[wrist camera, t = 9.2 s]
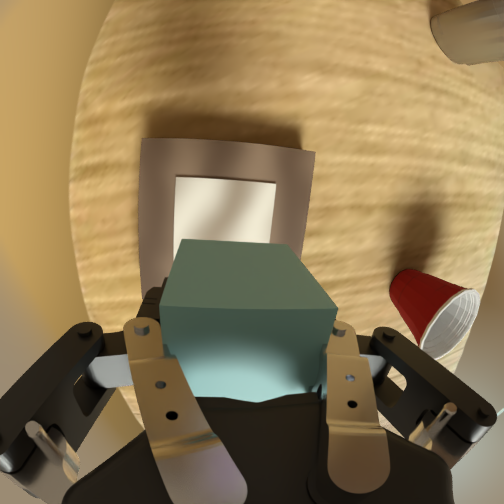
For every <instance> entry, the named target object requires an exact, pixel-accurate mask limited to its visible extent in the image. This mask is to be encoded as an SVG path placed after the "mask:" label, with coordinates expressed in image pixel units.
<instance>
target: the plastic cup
mask: <svg viewBox="0 0 504 504" xmlns="http://www.w3.org/2000/svg"><path fill="white" fill-rule="evenodd" d="M389 291H390V298H391V300H392V302H393V304H394V305H395V307H396V308H397V310H398V311H399V313H400V315H401V317H402V318H403V320H404V321H405V323H406V324H407V326H408V327H409V329H410V331H411V332H412V334H413V335H414V337H415V339H416V342H417V344H418V347H419V348H420V349H422V350H423V351H424V352H425V353H427V354H428V355H429V356H431V357H432V358H433V359H434V360H436V359H439V358H441V357H442V356H444V355H445V354H447V353H448V352H450V351H451V350H452V349H453V348H454V347H455V346H456V345H457V344H458V343H459V342H460V341H461V340H462V339H463V337H464V336H465V335H466V333H467V332H468V331H469V329H470V328H471V326H472V324H473V322H474V320H475V318H476V316H477V312H478V309H479V305H480V297H479V293H478V292H477V291H476V290H475V289H472V288H469V289H467V288H464V287H462V286H461V287H460V286H458V285H456V284H452V283H449V282H447V281H444V280H442V279H439V278H437V277H434V276H432V275H429V274H425V273H422V272H420V271H417V270H413V269H406V270H404V271H401V272H400V273H399V274H398V275H397V276H396V277H395V278H394V280H393V282H392V283H391V287H390V290H389Z"/></svg>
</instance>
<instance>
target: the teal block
mask: <svg viewBox="0 0 504 504" xmlns="http://www.w3.org/2000/svg"><path fill="white" fill-rule="evenodd" d="M159 310H160V323H161V335H162V344H167V346H168V348H169V351H170V353H171V355H172V354H175V355H176V357H177V359H178V362H179V364H180V366H181V369H182V371H183V373H184V375H185V377H186V380H187V382H188V384H189V386H190V388H191V390H192V393H193V395H194V396H197V397H226V398H232V399H237V400H243V401H250V402H262V401H266V400H270V399H273V398H277V397H280V396H284V395H287V394H298V393H307V391H308V388H309V386H314V384H315V381H316V378H317V375H318V370H319V354H320V351H321V348H322V345H323V344H328V342H329V339H330V335H331V332H332V329H333V325H334V322H335V318H336V315H337V311H338V307H337V306H336V305H335V303H334V302H333V301H332V300H331V298H330V297H329V296H328V294H327V293H326V292H325V291H324V289H323V288H322V287H321V286H320V284H319V283H318V282H317V281H316V279H315V278H314V277H313V276H312V274H311V273H310V272H309V271H308V269H307V268H306V267H305V266H304V264H303V263H302V262H301V261H300V259H299V258H298V257H297V256H296V254H295V253H294V252H293V251H292V250H291V248H290V247H289V246H288V245H287V244H273V243H256V242H237V241H218V240H198V239H181V242H180V245H179V248H178V250H177V253H176V256H175V259H174V262H173V265H172V268H171V271H170V273H169V276H168V279H167V282H166V285H165V288H164V292H163V295H162V298H161V301H160V304H159Z"/></svg>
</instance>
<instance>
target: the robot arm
mask: <svg viewBox="0 0 504 504" xmlns="http://www.w3.org/2000/svg"><path fill="white" fill-rule="evenodd" d="M431 29H432V32H433V35H434V37H435V39H436V41H437V43H438V45H439V46H440V48H441V49H442V51H443V52H444V53H445V54H446V55H447V56H448V57H449V58H450V59H451V60H452V61H454V62H455V63H457V64H467V65H474V64H481V63H488V62H495V61H504V0H478V1H475V2H471V3H469V4H466V5H463V6H460V7H457V8H454V9H452V10H449V11H446V12H444V13H441V14H439V15H437V16H434V17H433V18H432V19H431ZM167 279H168V277H165V278H164V281H163V283H162V286H161V287H152V288H151V289H150V290H148V291H147V292H146V295H145V297H144V299H143V302H142V304H141V306H140V309H139V311H138V314H137V316H136V318H134V319H131V320H129V321H128V322H126V323H125V325H124V327H123V331H120V332H114V333H104V334H103V330H102V328H101V326H100V325H98V324H96V323H93V322H83V323H79V324H76V325H74V326H73V327H72V328H70V329H69V330H68V331H67V332H66V333H65V334H64V335H63V336H62V337H61V338H60V339H59V340H58V341H57V342H55V343H54V344H53V345H52V346H51V347H50V348H49V349H48V350H47V351H46V352H45V353H44V354H43V355H42V356H41V357H40V358H39V359H38V360H37V361H36V362H35V363H34V364H33V365H32V366H31V367H30V368H29V369H28V370H27V371H26V372H25V373H24V374H23V375H22V376H21V377H20V378H19V379H18V380H17V382H16V383H15V384H14V385H13V386H12V387H11V388H10V389H9V390H8V391H7V392H6V393H5V394H4V395H3V396H2V398H1V399H0V472H1V473H3V474H4V475H5V476H6V477H7V478H8V479H10V480H11V481H12V482H13V483H14V484H16V485H17V486H18V487H20V488H22V489H23V490H25V491H26V492H27V493H28V494H30V495H31V496H33V497H35V498H39V499H42V500H43V501H44V502H46V503H47V504H454V499H453V491H452V474H451V471H450V469H451V468H452V467H453V466H454V465H455V464H456V463H457V462H459V461H460V460H461V459H462V458H463V457H464V456H465V455H466V454H467V453H468V452H469V451H470V450H471V449H472V448H473V447H474V446H475V445H476V444H477V443H478V442H479V440H480V439H481V438H482V437H483V436H484V435H485V434H486V433H487V432H488V431H489V429H490V428H491V427H492V426H493V425H494V424H495V422H496V420H497V414H496V411H495V409H494V408H493V406H492V405H491V404H490V403H488V402H487V401H486V400H485V399H484V398H482V397H481V396H480V395H479V394H477V393H476V392H475V391H474V390H472V389H471V388H470V387H469V386H467V385H466V384H465V383H463V382H462V381H461V380H460V379H459V378H457V377H456V376H455V375H454V374H452V373H451V372H450V371H449V370H447V369H446V368H445V367H443V366H442V365H441V364H440V363H438V362H437V361H436V360H434V359H433V358H432V357H431V356H429V355H428V354H427V353H425V352H424V351H423V350H422V349H420V348H419V347H418V346H416V345H415V344H414V343H412V342H411V341H410V340H408V339H407V338H406V337H404V336H403V335H402V334H401V333H399V332H398V331H396V330H394V329H392V328H389V327H378V328H376V329H375V330H374V332H373V335H372V337H371V336H363V335H356V332H355V329H354V328H353V327H352V326H351V325H349V324H347V323H345V322H342V321H337V320H336V319H335V322H334V325H333V329H332V332H331V335H330V339H329V342H328V344H323V345H322V348H321V351H320V354H319V370H318V375H317V378H316V381H315V384H314V386H309V388H308V391H307V393H298V394H287V395H284V396H280V397H277V398H273V399H270V400H266V401H262V402H250V401H243V400H237V399H232V398H226V397H197V396H194V395H193V393H192V390H191V388H190V386H189V384H188V382H187V380H186V377H185V375H184V373H183V371H182V369H181V366H180V364H179V362H178V359H177V357H176V355H175V354H172V355H171V353H170V351H169V348H168V346H167V344H162V335H161V323H160V310H159V304H160V301H161V298H162V295H163V292H164V288H165V285H166V282H167ZM392 366H393V367H394V368H395V369H396V370H397V371H399V372H400V373H401V374H402V375H403V376H404V377H405V379H406V382H407V386H406V388H405V390H404V391H403V390H402V389H400V388H399V387H398V386H397V385H396V384H395V383H394V382H393V381H392V380H391V379H390V378H388V377H387V375H388V373H389V371H390V369H391V367H392ZM81 375H82V376H81ZM80 376H81V378H80V379H79V380H78V381H77V379H78V378H79V377H80ZM76 381H77V382H76ZM75 382H76V384H75ZM74 384H75V385H74ZM129 385H134V389H135V394H136V398H137V402H138V405H139V409H140V413H141V416H142V420H143V423H144V427H145V430H144V431H143V432H142V433H140V434H139V435H138V436H137V437H136V438H134V439H133V440H132V441H131V442H129V443H128V444H127V445H126V446H124V447H123V448H122V449H120V450H119V451H118V452H116V453H115V454H114V455H113V456H111V457H110V458H109V459H107V460H106V461H105V462H103V463H102V464H101V465H99V466H98V467H97V468H95V469H94V470H93V471H91V472H90V473H88V474H87V475H85V476H84V477H83V478H81V479H80V480H78V481H77V476H78V471H79V468H80V461H79V458H78V456H77V454H76V452H77V450H78V448H79V447H80V445H81V443H82V442H83V440H84V438H85V437H86V435H87V434H88V432H89V430H90V429H91V427H92V426H93V424H94V422H95V421H96V419H97V418H98V416H99V415H100V413H101V411H102V410H103V408H104V407H105V405H106V404H107V402H108V401H109V399H110V398H111V396H112V394H113V393H114V391H115V390H116V387H121V386H129ZM377 410H378V411H379V412H380V413H381V414H382V415H383V416H384V417H385V418H386V419H387V420H388V421H389V422H390V423H391V424H392V425H393V426H394V427H395V428H396V429H397V430H398V431H399V432H400V433H401V435H402V436H403V437H404V438H403V437H401V436H399V435H397V434H395V433H393V432H391V431H389V430H387V429H385V428H383V427H381V426H380V424H379V418H378V411H377Z"/></svg>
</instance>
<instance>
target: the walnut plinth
mask: <svg viewBox="0 0 504 504" xmlns="http://www.w3.org/2000/svg"><path fill="white" fill-rule="evenodd" d="M315 153H316V152H313V151H307V150H301V149H294V148H287V147H280V146H272V145H264V144H255V143H245V142H234V141H221V140H206V139H182V138H142V143H141V156H140V174H139V259H140V277H141V290H142V299H144V297H145V295H146V292H147V291H148V290H150V289H151V288H152V287H161V286H162V283H163V281H164V278H165V277H168V276H169V273H170V271H171V268H172V265H173V262H174V259H175V256H176V253H177V250H178V248H179V245H180V242H181V239H198V240H218V241H237V242H256V243H273V244H287V245H288V246H289V247H290V248H291V250H292V251H293V252H294V253H295V254H296V256H297V257H298V258H299V259H300V260H301V254H302V248H303V241H304V235H305V228H306V222H307V215H308V208H309V201H310V193H311V186H312V178H313V170H314V161H315Z"/></svg>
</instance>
